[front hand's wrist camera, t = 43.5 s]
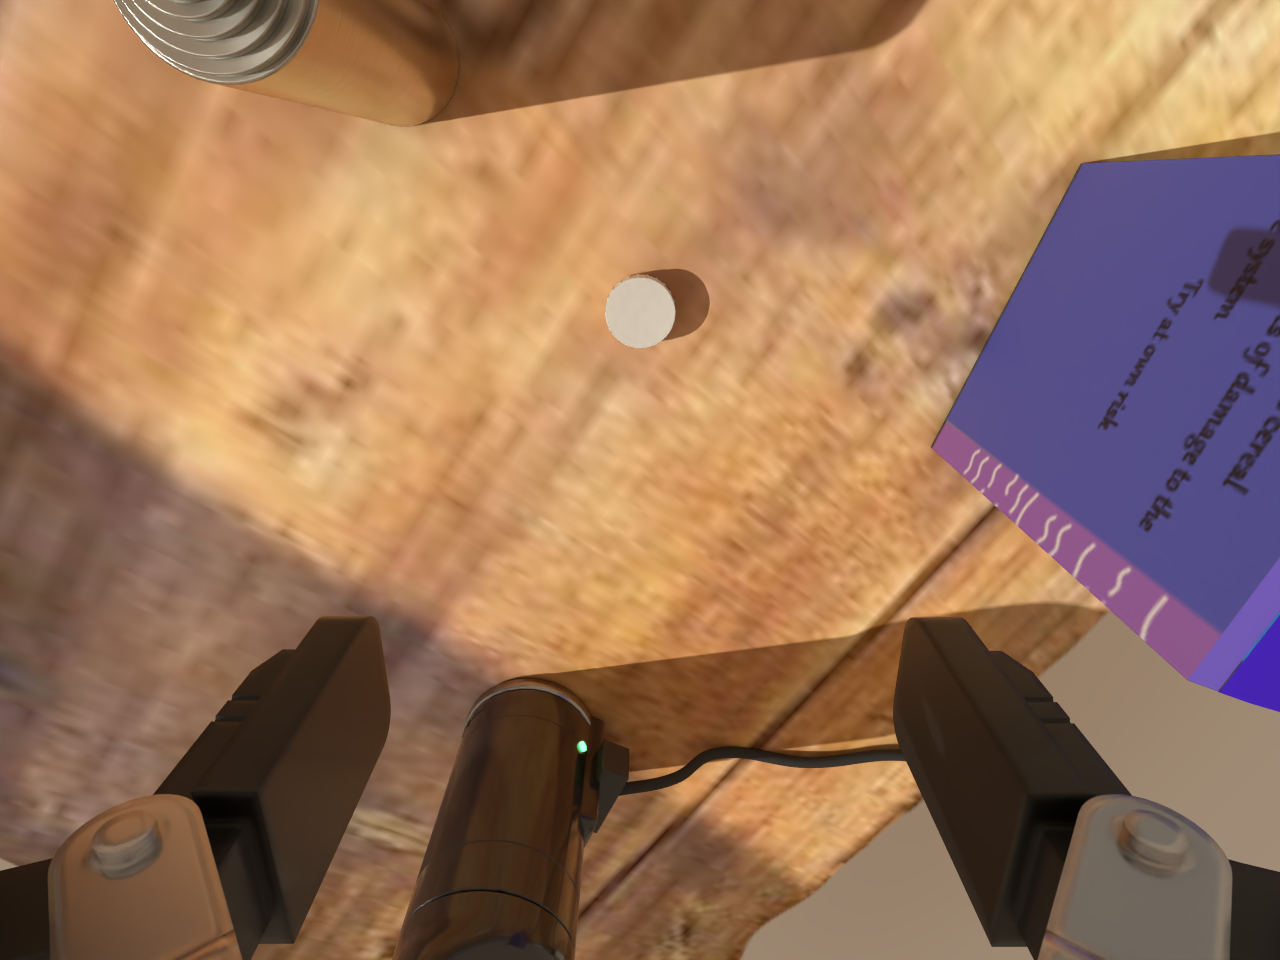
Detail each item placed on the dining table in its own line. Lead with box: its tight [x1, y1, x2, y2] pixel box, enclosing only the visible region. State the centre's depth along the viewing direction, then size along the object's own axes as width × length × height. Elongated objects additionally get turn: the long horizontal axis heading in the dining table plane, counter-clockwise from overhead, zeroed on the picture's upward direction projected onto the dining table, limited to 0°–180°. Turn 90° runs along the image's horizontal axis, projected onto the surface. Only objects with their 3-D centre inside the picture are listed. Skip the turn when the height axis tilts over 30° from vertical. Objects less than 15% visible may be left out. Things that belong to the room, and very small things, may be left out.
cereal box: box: [931, 155, 1280, 712], centre depth 33 cm, size 17×5×24 cm, turn 160°
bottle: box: [114, 0, 459, 126], centre depth 29 cm, size 6×6×23 cm
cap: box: [605, 274, 676, 348], centre depth 44 cm, size 4×4×2 cm
